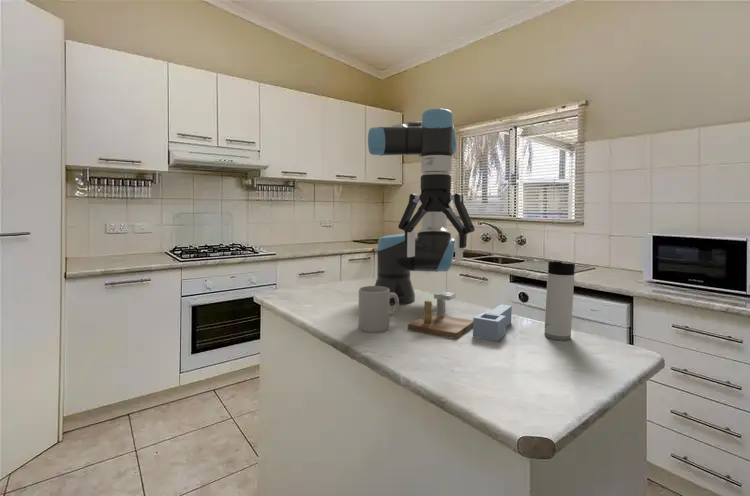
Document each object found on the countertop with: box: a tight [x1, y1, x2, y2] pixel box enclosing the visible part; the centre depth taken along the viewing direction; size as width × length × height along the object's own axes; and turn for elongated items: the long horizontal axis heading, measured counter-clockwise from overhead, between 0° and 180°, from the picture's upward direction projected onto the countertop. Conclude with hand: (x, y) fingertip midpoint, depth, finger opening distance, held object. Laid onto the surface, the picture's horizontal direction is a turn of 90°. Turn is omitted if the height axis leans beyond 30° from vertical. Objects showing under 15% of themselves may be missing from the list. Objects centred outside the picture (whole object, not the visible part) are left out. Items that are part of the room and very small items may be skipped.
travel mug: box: [543, 260, 576, 341], centre depth 105 cm, size 6×7×20 cm
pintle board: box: [407, 300, 473, 340], centre depth 113 cm, size 14×14×8 cm
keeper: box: [433, 291, 456, 318], centre depth 116 cm, size 5×5×7 cm
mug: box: [357, 285, 400, 334], centre depth 113 cm, size 12×8×11 cm
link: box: [472, 303, 513, 342], centre depth 112 cm, size 18×6×5 cm, turn 146°
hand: (433, 259), depth 105 cm, fingers open, 13 cm apart
